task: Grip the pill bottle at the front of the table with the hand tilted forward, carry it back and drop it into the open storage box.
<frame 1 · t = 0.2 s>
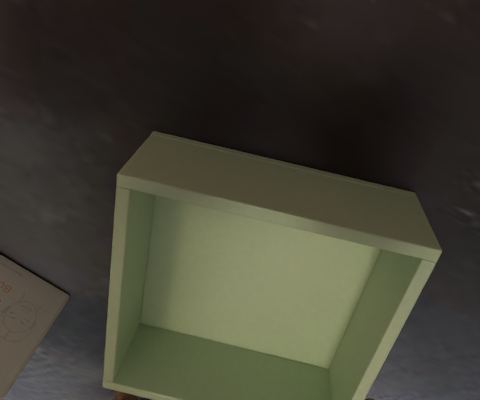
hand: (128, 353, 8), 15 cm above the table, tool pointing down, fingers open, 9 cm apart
open storage box: (255, 265, 25), on the table
small box: (2, 285, 29), on the table
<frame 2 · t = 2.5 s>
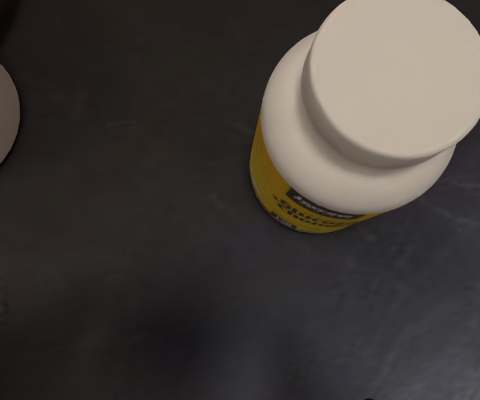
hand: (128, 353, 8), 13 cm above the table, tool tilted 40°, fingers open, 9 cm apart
pill bottle: (311, 172, 23), on the table
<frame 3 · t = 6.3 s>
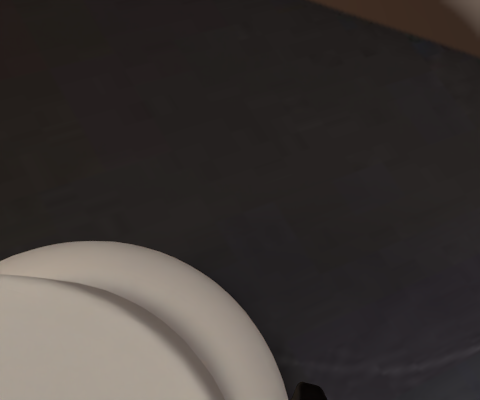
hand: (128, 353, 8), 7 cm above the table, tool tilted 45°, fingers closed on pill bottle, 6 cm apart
pill bottle: (153, 382, 15), on the table, touching gripper
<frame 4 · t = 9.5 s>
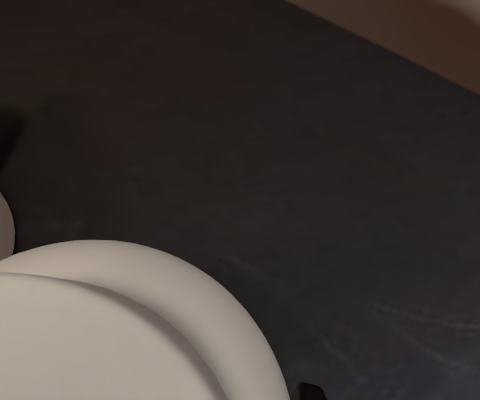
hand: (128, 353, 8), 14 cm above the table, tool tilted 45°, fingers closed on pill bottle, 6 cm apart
pill bottle: (153, 381, 15), point 7 cm above the table, touching gripper
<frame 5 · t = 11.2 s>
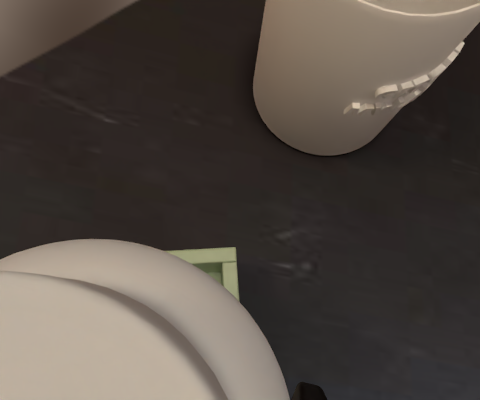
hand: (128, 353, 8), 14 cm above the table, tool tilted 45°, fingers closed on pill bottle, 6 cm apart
mug: (347, 75, 26), on the table
pill bottle: (153, 381, 15), point 7 cm above the table, touching gripper
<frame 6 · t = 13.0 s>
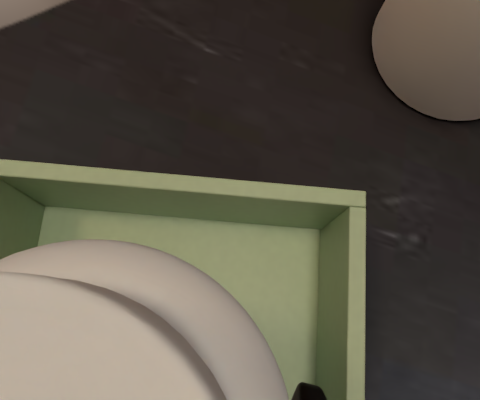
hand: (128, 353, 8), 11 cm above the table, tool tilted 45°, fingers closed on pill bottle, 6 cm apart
mug: (475, 38, 23), on the table
open storage box: (169, 361, 19), on the table
pill bottle: (153, 381, 15), point 4 cm above the table, touching gripper
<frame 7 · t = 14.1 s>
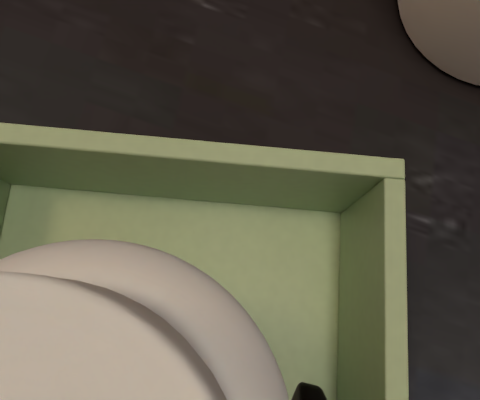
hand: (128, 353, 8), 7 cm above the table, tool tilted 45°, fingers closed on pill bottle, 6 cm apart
open storage box: (159, 371, 15), on the table
pill bottle: (153, 381, 15), point 1 cm above the table, touching gripper
when the fingers open (7 cm above the table, at t = 14.7 s): pill bottle stays where it is, resting on open storage box.
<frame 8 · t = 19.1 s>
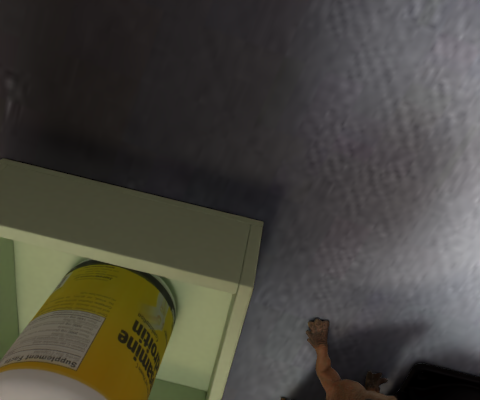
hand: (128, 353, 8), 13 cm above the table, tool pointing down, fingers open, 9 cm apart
open storage box: (123, 290, 25), on the table
dinosaur figurine: (331, 377, 27), on the table
pill bottle: (123, 295, 25), resting on open storage box
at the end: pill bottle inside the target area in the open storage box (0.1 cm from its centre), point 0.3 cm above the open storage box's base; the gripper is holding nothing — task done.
